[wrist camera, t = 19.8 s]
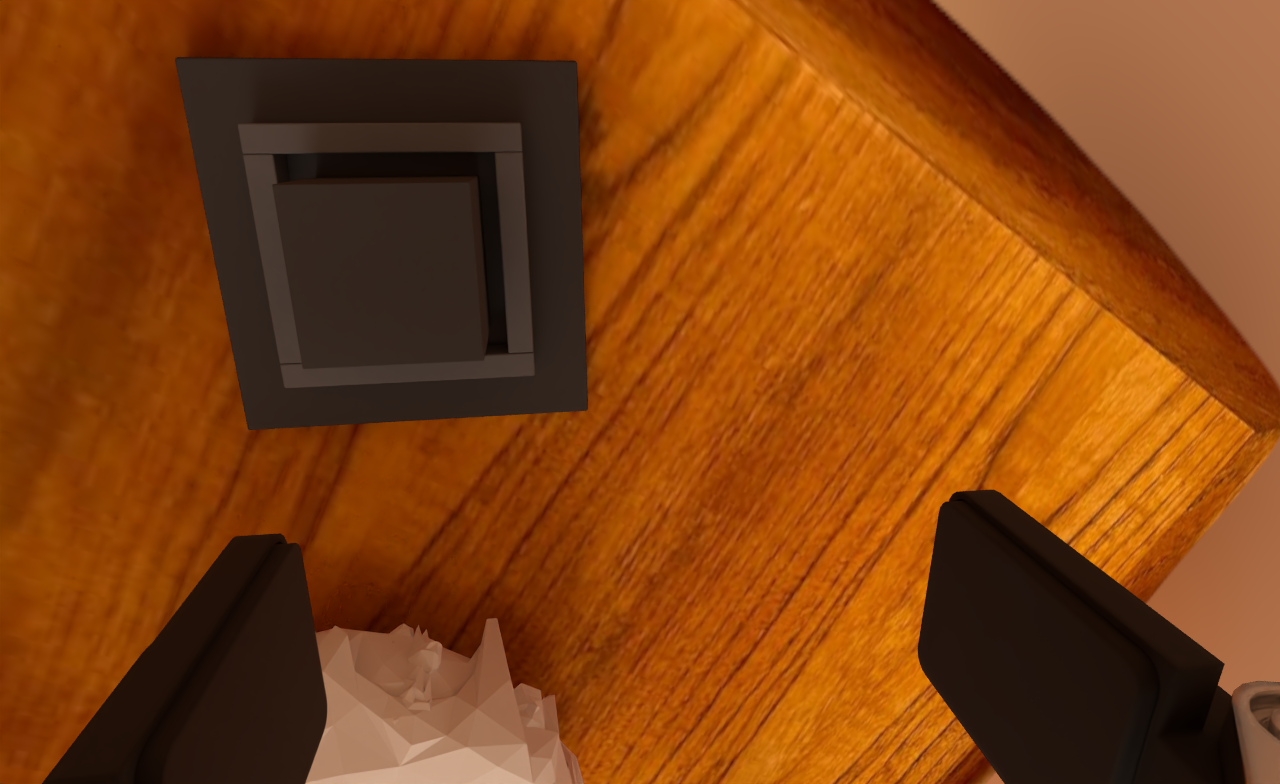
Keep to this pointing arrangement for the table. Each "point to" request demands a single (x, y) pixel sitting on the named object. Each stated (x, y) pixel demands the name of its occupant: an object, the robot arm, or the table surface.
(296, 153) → the base pad
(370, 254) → the dark block
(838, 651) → the table surface
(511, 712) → the bowl
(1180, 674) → the robot arm
